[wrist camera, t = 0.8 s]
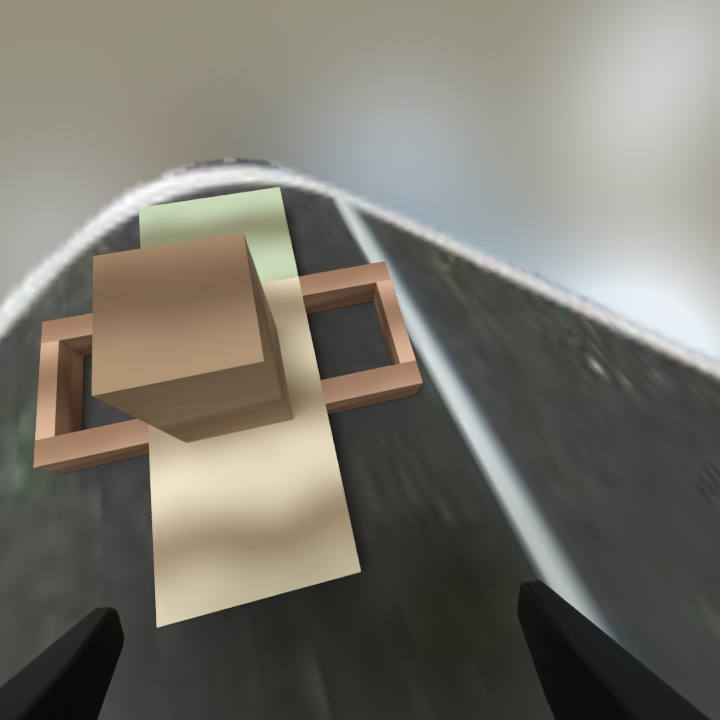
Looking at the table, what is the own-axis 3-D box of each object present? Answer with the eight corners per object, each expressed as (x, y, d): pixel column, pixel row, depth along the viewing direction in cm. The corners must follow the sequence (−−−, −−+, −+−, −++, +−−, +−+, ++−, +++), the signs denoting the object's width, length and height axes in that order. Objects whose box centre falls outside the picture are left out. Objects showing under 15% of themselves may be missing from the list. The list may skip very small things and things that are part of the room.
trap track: (459, 539, 23) (472, 541, 21) (57, 648, 20) (21, 664, 18) (357, 200, 32) (358, 175, 30) (71, 244, 30) (48, 221, 28)
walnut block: (293, 419, 23) (264, 361, 15) (186, 443, 22) (91, 395, 14) (276, 328, 25) (243, 232, 17) (179, 347, 24) (93, 256, 16)
